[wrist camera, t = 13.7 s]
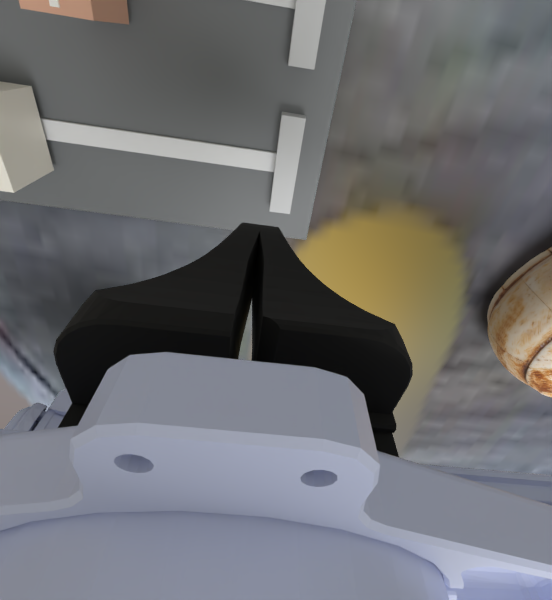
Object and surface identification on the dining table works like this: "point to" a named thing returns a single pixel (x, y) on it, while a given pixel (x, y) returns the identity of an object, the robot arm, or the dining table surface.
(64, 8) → the fader
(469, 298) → the dining table surface
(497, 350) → the trinket box
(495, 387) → the dining table surface
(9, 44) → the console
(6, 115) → the fader
